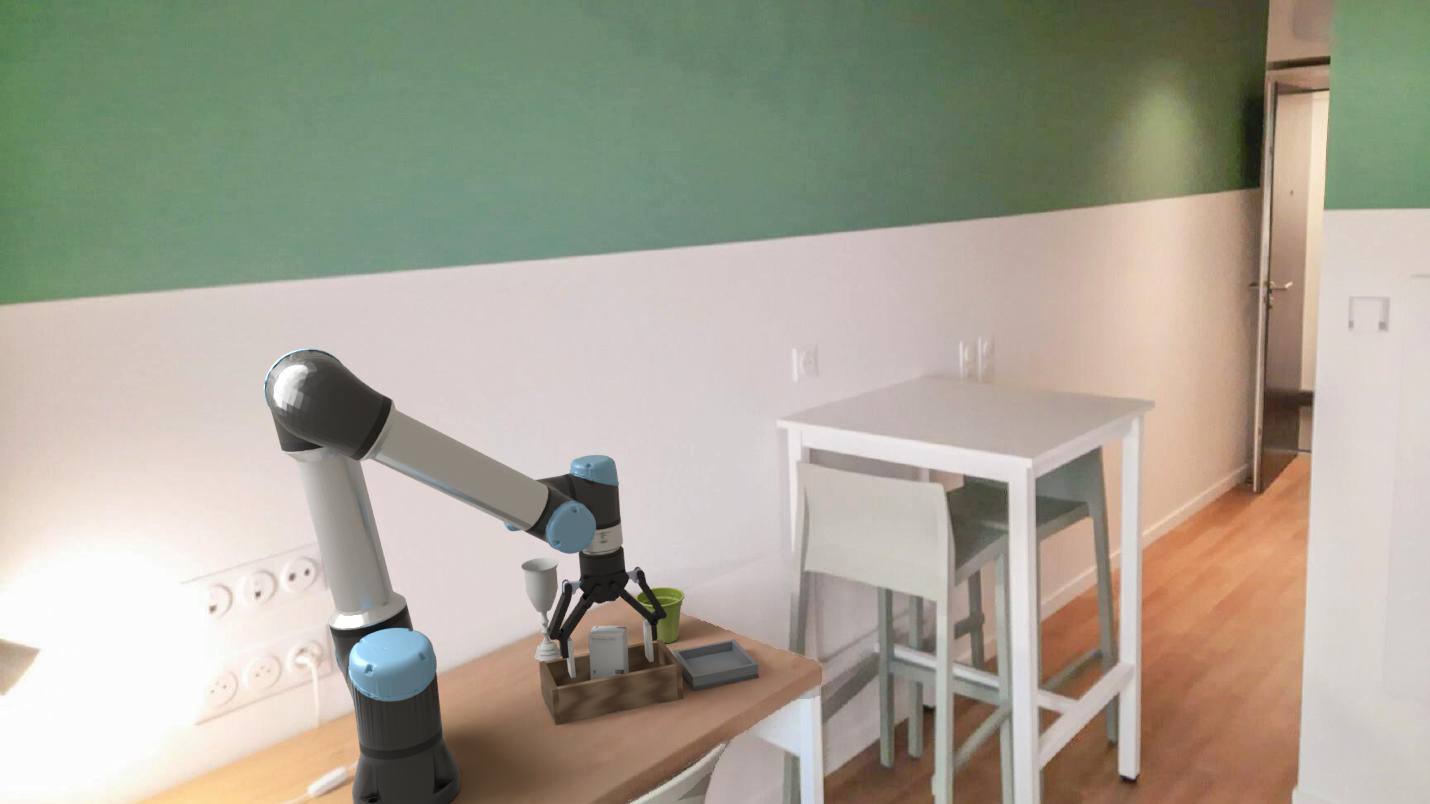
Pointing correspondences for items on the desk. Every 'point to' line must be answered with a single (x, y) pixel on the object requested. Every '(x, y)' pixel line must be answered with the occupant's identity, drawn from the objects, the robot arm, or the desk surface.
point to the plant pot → (671, 606)
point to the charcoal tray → (716, 664)
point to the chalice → (542, 599)
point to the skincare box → (608, 651)
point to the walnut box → (610, 684)
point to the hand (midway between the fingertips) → (611, 666)
